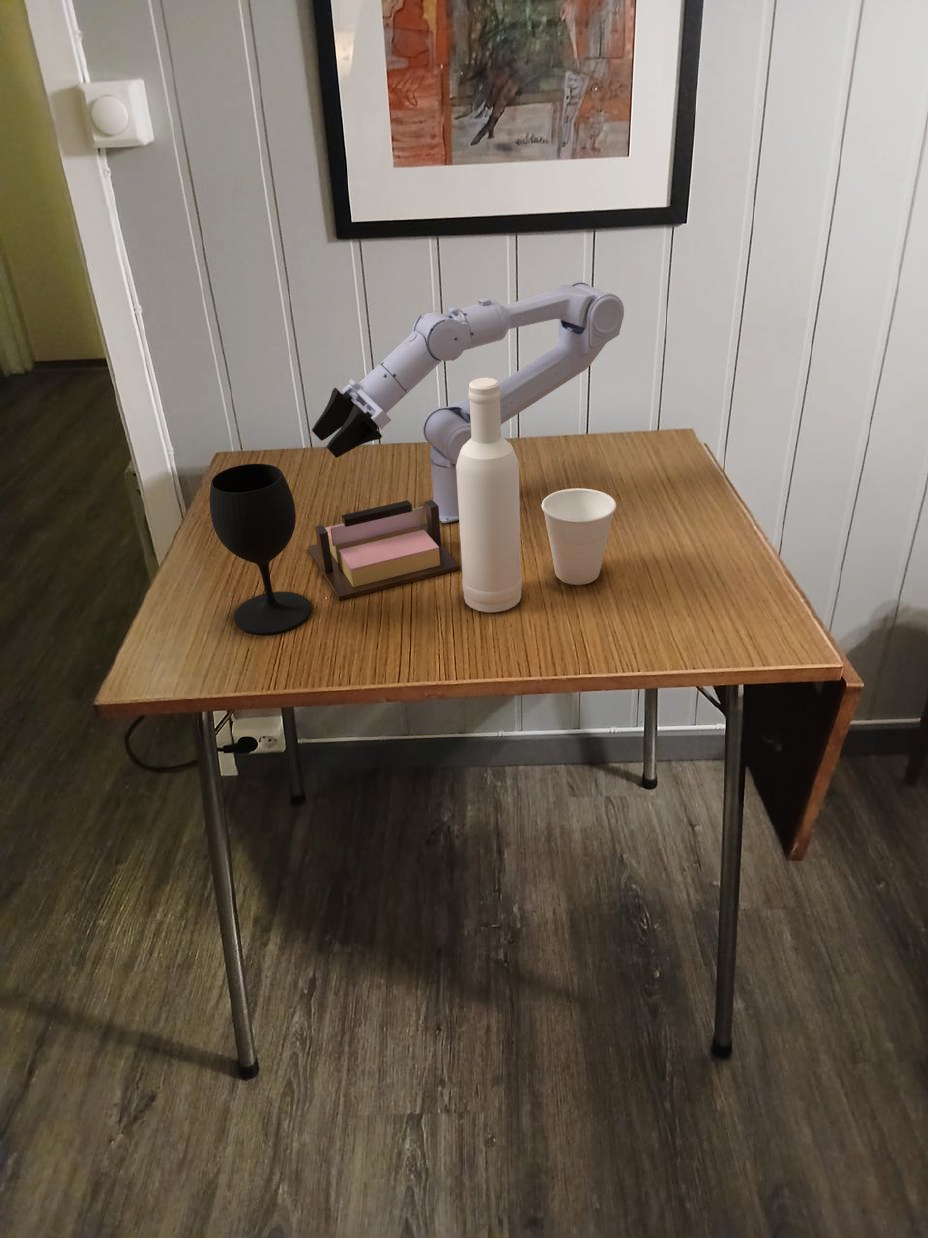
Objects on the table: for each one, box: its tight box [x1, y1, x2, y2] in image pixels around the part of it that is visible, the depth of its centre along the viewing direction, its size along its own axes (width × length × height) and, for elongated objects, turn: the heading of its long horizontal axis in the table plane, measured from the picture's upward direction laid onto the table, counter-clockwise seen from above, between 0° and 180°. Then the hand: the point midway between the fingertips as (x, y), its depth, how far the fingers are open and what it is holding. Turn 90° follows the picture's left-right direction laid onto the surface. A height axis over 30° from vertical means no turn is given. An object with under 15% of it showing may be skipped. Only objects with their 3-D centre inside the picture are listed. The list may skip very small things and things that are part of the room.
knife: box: [330, 499, 426, 546], centre depth 133 cm, size 14×2×4 cm, turn 113°
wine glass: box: [209, 463, 312, 636], centre depth 120 cm, size 10×10×20 cm
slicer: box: [307, 499, 461, 602], centre depth 134 cm, size 18×16×7 cm
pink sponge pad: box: [325, 523, 440, 587], centre depth 135 cm, size 13×14×3 cm
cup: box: [540, 487, 617, 586], centre depth 127 cm, size 10×10×11 cm
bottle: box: [456, 377, 523, 614], centre depth 118 cm, size 8×8×30 cm
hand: (323, 443), depth 134 cm, fingers open, 7 cm apart
